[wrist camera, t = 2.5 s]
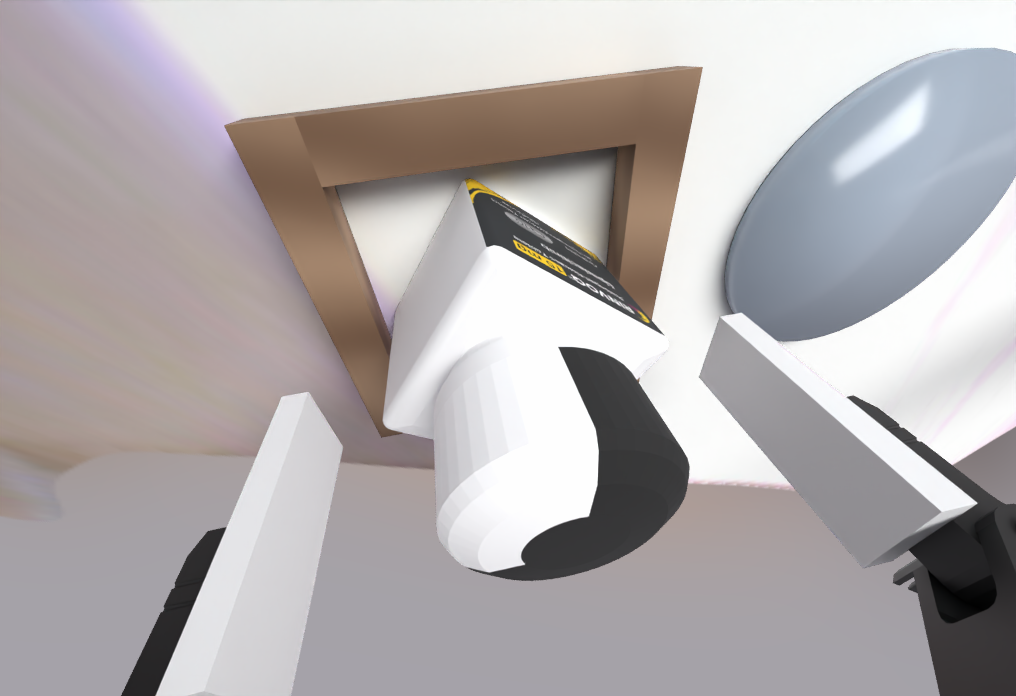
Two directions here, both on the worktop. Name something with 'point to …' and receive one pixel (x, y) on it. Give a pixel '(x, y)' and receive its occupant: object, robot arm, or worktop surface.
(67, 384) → the worktop surface
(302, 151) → the wooden picture frame
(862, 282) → the slate plate
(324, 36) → the worktop surface
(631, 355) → the medicine bottle
